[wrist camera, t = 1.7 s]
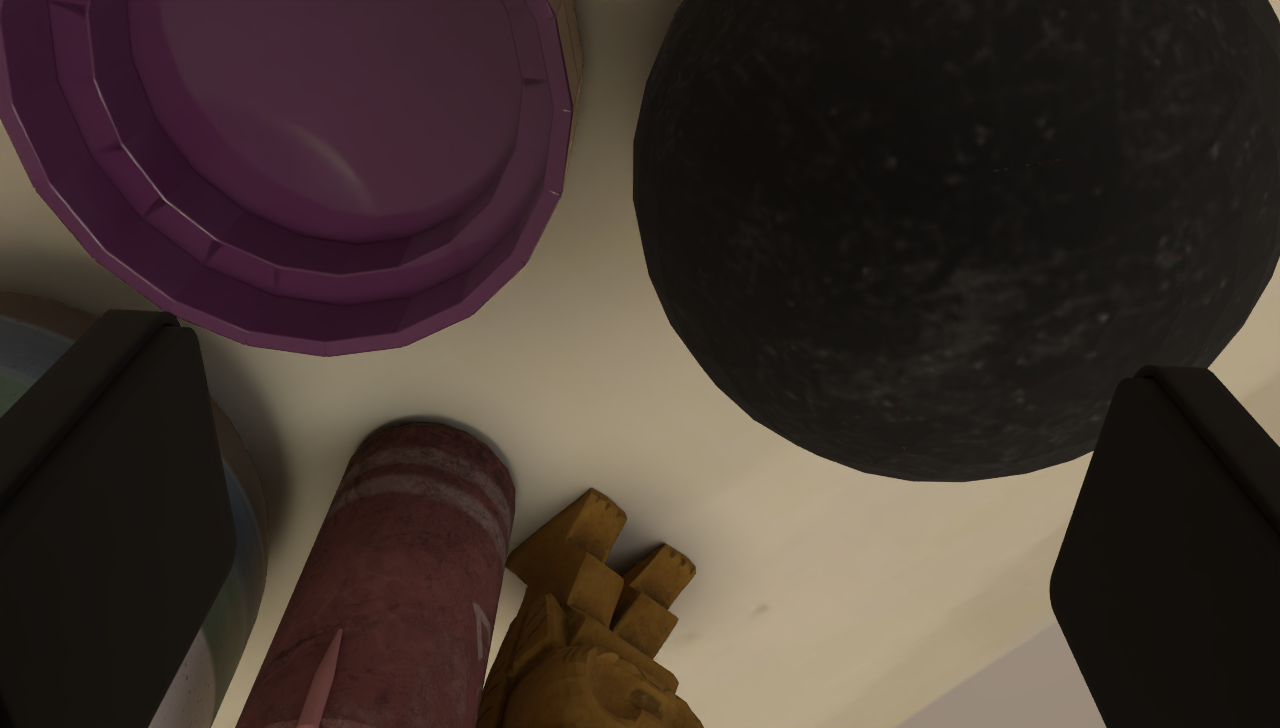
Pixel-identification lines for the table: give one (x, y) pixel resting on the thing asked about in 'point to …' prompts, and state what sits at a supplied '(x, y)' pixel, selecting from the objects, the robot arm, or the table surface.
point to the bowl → (298, 153)
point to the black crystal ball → (957, 213)
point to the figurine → (587, 631)
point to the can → (395, 591)
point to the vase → (44, 330)
